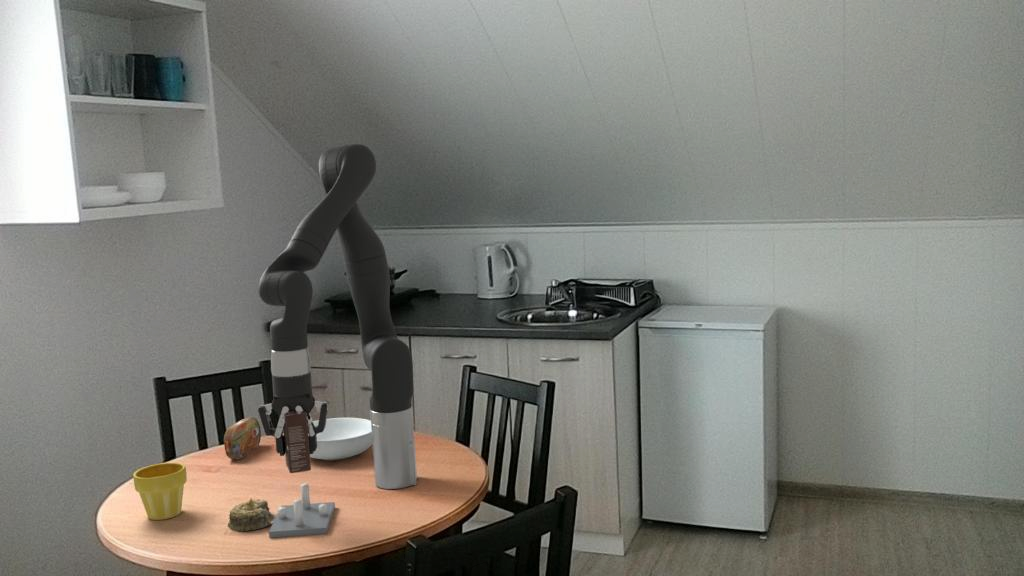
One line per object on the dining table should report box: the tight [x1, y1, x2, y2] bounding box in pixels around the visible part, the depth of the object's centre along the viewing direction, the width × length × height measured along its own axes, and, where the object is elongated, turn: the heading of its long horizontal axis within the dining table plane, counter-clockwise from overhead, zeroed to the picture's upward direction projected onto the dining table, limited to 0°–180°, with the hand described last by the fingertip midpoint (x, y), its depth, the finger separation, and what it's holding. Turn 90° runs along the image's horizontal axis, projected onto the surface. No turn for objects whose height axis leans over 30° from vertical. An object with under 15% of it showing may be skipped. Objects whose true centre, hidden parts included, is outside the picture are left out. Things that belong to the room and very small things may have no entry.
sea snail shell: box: [227, 498, 277, 532], centre depth 189 cm, size 10×10×5 cm
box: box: [283, 411, 312, 474], centre depth 185 cm, size 6×4×12 cm
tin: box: [223, 417, 262, 460], centre depth 235 cm, size 15×3×8 cm, turn 168°
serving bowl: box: [308, 417, 373, 461], centre depth 231 cm, size 21×21×7 cm
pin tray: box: [268, 483, 336, 538], centre depth 187 cm, size 11×14×6 cm
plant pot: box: [132, 462, 188, 521], centre depth 195 cm, size 10×10×10 cm
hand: (297, 453), depth 186 cm, fingers closed on box, 5 cm apart
